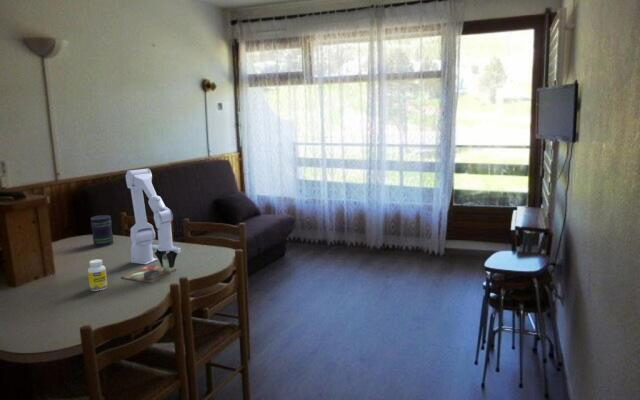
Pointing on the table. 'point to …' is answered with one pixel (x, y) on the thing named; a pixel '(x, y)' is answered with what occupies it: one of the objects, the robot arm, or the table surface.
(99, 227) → the storage jar
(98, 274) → the pill bottle
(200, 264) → the table surface
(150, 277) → the board
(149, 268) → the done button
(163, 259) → the pale green jar
